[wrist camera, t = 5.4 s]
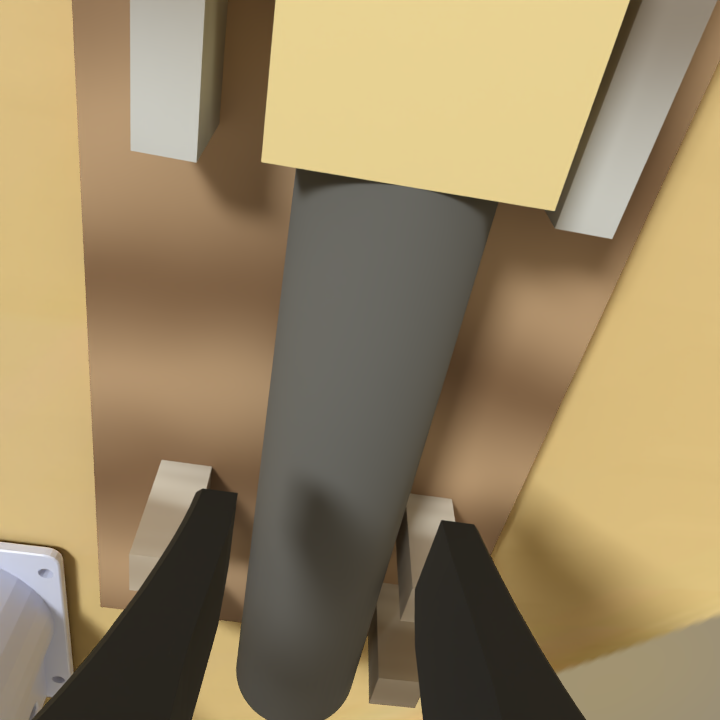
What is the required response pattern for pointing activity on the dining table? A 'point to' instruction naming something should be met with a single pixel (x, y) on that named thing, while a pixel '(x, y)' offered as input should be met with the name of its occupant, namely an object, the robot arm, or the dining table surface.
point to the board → (265, 274)
